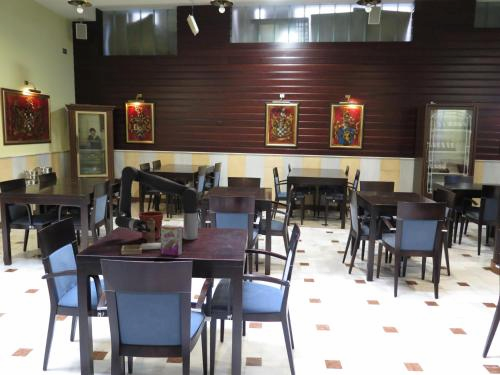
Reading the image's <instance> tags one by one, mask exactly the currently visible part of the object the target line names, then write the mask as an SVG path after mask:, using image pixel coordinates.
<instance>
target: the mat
mask: <svg viewBox="0 0 500 375" xmlns="http://www.w3.org/2000/svg"><path fill="white" fill-rule="evenodd" d="M140 245H142V250H161V242H155V243H147V242H146V243H144V242H143V243H140Z"/></svg>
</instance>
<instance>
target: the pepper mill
mask: <svg viewBox="0 0 500 375" xmlns="http://www.w3.org/2000/svg"><path fill="white" fill-rule="evenodd" d="M147 228H150V229H151V232H147V239H146V243H156V238H155V221H153V218H149V221H147Z"/></svg>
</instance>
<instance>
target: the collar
mask: <svg viewBox="0 0 500 375" xmlns="http://www.w3.org/2000/svg"><path fill="white" fill-rule="evenodd" d="M142 252H143V249H142V245H141V244H131V245H130V244H125V245H122V246H121V250H120V254H121V256H123V255H124V256H125V255H128V256H129V255H142V254H143V253H142Z"/></svg>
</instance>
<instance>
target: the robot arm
mask: <svg viewBox="0 0 500 375" xmlns="http://www.w3.org/2000/svg"><path fill="white" fill-rule="evenodd" d="M133 182H136V183H140V184H143V185H145V186H147V187H149V188H150V189H152V190H155V191H157V192H160V193H164V194H169V195H174V196H175V195H176V196H179V197H181V199H182V200H181V201H182V211H183V214H182V215H183V217H182V218H183V220H182V221H183V222H182V223H183V225H182V230H183V231H182V235H183V236H182V239H184V240H187V241H188V240H189V241H190V240H197V239H198V233H199V232H198V230H199V229H198V226H199V225H198V223H199V221H198V211H199V209H198V206H197V205H198V204H197V203H198V202H197V200H198V198H199V191H198V190H197V189H196V188H194V187H191V186H187V185H182V184H180V183H177V182H175V181H172V180H170V179H168V178H165V177H162V176H160V175H156V174H151V173H147V172H145V171H142V170H141V169H138V168H136V167H134V166H131V165H130V166H129V165H126V166H124V167H123V168H122V170H121V195H120V201H119V212H122V213H124V215H118V216H116V217H115V218H114V224H115V225H116V227H119V228H124V229H125V228H126V229H128V230H132V231H134V232H138V233H142V232H151V229H150V228H147V224H146V222H145V221H143V220H140V218H139V219H138V218H134V217H133V216H132V211H131V210H132V208H131V207H132V203H133V202H132V201H133V198H132V194H133V193H132V185H133ZM156 226H157V225H155V231H158V227H156Z"/></svg>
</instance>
